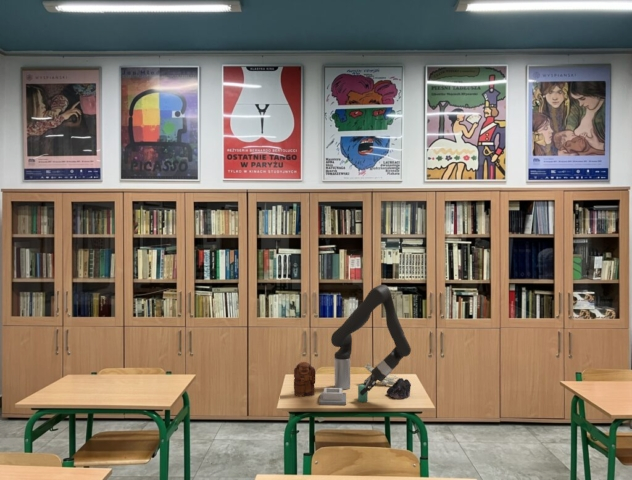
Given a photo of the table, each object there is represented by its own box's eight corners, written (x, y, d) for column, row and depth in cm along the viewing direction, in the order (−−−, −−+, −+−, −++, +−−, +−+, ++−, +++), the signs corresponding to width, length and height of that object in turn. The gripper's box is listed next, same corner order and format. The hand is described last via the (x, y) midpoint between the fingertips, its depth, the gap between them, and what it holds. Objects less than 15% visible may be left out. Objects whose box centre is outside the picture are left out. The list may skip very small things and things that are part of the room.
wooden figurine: (295, 396, 272) (294, 364, 272) (293, 393, 278) (293, 361, 278) (316, 395, 274) (316, 363, 274) (314, 392, 280) (314, 360, 280)
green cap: (357, 399, 267) (357, 384, 267) (367, 399, 266) (367, 384, 267) (358, 402, 262) (358, 387, 262) (367, 402, 261) (367, 387, 262)
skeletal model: (407, 388, 289) (376, 358, 289) (397, 399, 289) (365, 370, 289) (403, 380, 305) (373, 352, 305) (393, 391, 305) (363, 363, 305)
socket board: (320, 395, 275) (320, 386, 275) (345, 395, 274) (345, 386, 274) (319, 404, 258) (319, 395, 258) (346, 405, 257) (345, 395, 257)
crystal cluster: (386, 400, 268) (387, 382, 267) (386, 390, 282) (387, 373, 281) (411, 402, 266) (412, 385, 266) (409, 393, 280) (411, 376, 279)
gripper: (376, 362, 271) (355, 383, 271) (377, 368, 257) (355, 390, 257) (385, 372, 271) (365, 393, 271) (388, 379, 256) (366, 401, 257)
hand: (360, 391), depth 264 cm, fingers open, 8 cm apart
